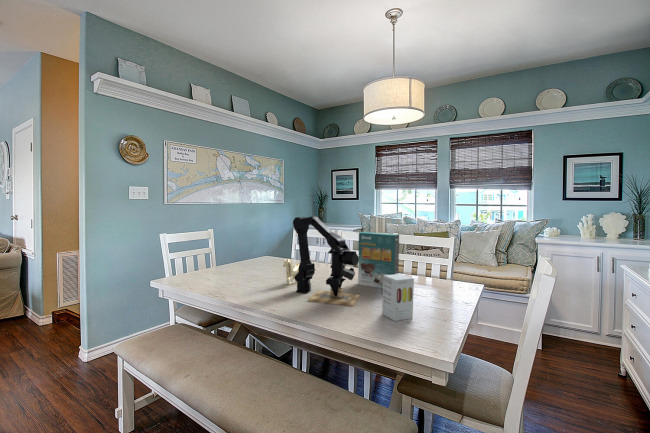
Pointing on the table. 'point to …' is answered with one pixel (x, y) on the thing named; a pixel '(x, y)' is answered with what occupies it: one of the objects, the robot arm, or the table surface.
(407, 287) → the supplement box
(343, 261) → the robot arm
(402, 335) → the table surface
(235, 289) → the table surface
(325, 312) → the table surface
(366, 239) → the cake mix box
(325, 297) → the board
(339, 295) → the block
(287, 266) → the unicorn
